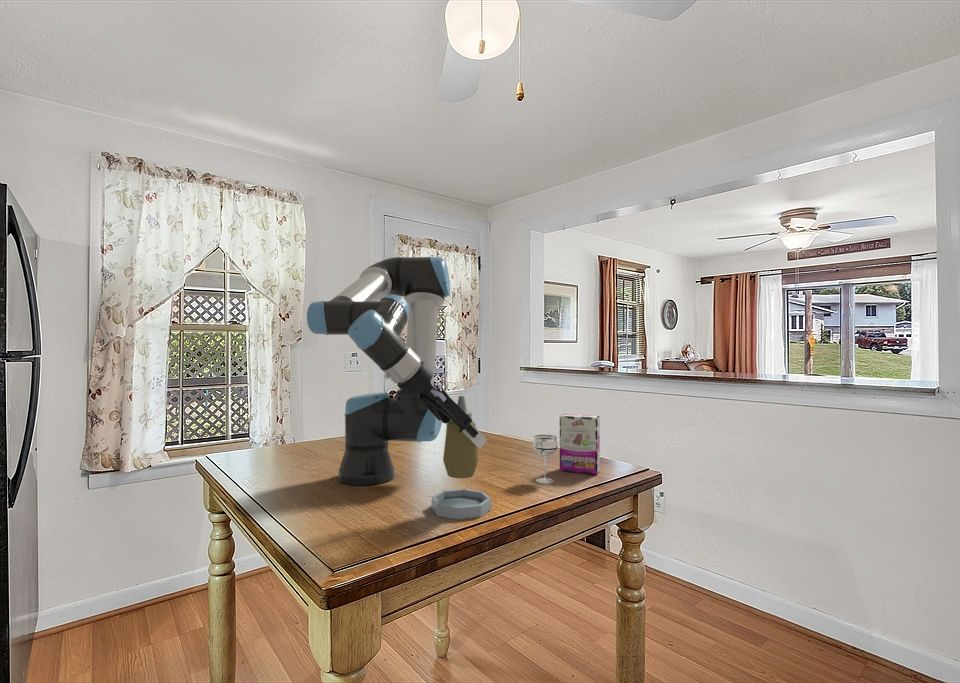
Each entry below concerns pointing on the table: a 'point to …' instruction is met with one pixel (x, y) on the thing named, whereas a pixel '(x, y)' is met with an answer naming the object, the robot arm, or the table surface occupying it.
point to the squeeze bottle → (459, 449)
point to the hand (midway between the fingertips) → (475, 441)
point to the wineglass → (545, 451)
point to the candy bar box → (580, 443)
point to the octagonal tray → (461, 504)
